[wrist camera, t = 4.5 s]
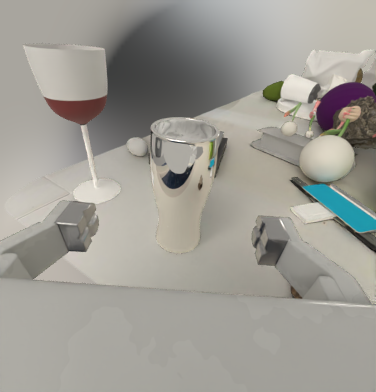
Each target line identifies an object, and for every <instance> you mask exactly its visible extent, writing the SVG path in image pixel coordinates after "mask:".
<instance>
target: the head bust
mask: <svg viewBox="0 0 376 392" xmlns="http://www.w3.org/2000/svg"><path fill="white" fill-rule="evenodd" d="M375 83H376V57H375V59H374V61H373V63H372V65H371V67H370V69H369V70H368V71H366V72H364V74H363V80H362V84H364V85H366V86H368V87H369V88H370V89H372V86H373V85H374V84H375Z"/></svg>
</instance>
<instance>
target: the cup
mask: <svg viewBox="0 0 376 392" xmlns="http://www.w3.org/2000/svg"><path fill="white" fill-rule="evenodd" d="M320 90H321V87H320V84H318V83H316V82H313V81H310V80H308V79H305V78H302V77H300V76H297V75H294V74H291V75H289V76H288V77H287V79H286V80H285V82H284V84H283V86H282V89H281V98H283V99H288V100H293V101H298V102H303V103H308V104H311V103H313V101H314V100H315V99H316V98H317V97H318V95H317V94H318V92H319V91H320Z"/></svg>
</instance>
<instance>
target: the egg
mask: <svg viewBox="0 0 376 392" xmlns="http://www.w3.org/2000/svg"><path fill="white" fill-rule="evenodd" d="M127 148H128V150H129V152H130V153H132V154H133V155H135V156H144V155H145V154H146V153H147V152H148V145H147V143H146V142H145V141H144V140H142V139H141V138H137V137H134V138H131V139H129V140H128V142H127Z"/></svg>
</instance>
